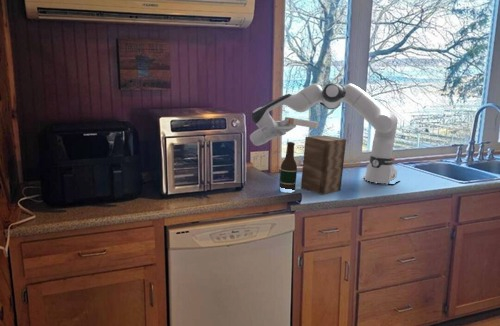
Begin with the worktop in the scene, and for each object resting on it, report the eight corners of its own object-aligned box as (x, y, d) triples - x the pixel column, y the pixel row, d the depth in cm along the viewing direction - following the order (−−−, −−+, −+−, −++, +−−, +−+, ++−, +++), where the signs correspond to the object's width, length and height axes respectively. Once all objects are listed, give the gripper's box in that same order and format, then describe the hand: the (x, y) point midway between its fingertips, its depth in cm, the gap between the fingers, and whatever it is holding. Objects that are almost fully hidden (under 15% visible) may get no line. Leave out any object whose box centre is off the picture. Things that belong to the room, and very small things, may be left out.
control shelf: (319, 184, 239) (324, 135, 234) (340, 190, 230) (346, 139, 225) (300, 188, 228) (305, 137, 223) (322, 194, 219) (327, 141, 214)
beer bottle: (293, 194, 215) (298, 144, 211) (277, 192, 217) (281, 142, 212) (295, 190, 223) (300, 142, 218) (279, 188, 224) (283, 140, 220)
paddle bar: (287, 122, 242) (287, 117, 241) (318, 128, 228) (318, 122, 228) (284, 123, 240) (284, 117, 239) (315, 128, 226) (315, 122, 226)
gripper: (258, 125, 241) (276, 114, 231) (282, 124, 255) (300, 114, 246) (261, 136, 240) (280, 126, 230) (286, 134, 254) (304, 125, 245)
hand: (291, 120), depth 238 cm, fingers closed on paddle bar, 2 cm apart
